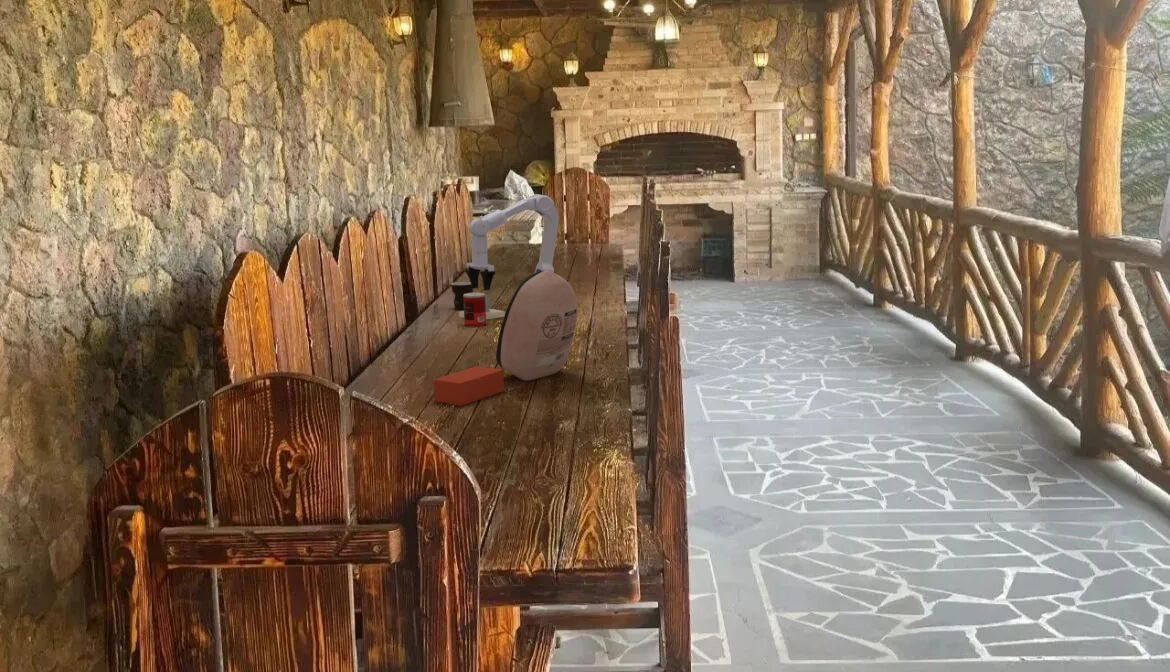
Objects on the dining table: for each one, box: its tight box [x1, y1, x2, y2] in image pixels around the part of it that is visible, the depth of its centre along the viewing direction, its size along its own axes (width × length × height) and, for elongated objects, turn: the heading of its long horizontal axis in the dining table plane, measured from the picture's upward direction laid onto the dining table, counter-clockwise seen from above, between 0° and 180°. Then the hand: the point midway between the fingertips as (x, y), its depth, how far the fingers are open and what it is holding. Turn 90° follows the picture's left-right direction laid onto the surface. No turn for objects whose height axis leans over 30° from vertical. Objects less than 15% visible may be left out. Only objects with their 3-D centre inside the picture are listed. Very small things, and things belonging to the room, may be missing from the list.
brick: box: [432, 365, 505, 406], centre depth 273 cm, size 18×9×6 cm, turn 147°
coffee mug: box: [450, 281, 474, 311], centre depth 412 cm, size 12×9×10 cm
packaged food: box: [495, 270, 579, 382], centre depth 291 cm, size 22×20×30 cm
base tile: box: [458, 308, 506, 320], centre depth 393 cm, size 12×12×2 cm
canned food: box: [463, 292, 487, 327], centre depth 376 cm, size 8×8×11 cm
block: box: [485, 294, 490, 312], centre depth 392 cm, size 4×4×6 cm
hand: (480, 289), depth 391 cm, fingers open, 7 cm apart
